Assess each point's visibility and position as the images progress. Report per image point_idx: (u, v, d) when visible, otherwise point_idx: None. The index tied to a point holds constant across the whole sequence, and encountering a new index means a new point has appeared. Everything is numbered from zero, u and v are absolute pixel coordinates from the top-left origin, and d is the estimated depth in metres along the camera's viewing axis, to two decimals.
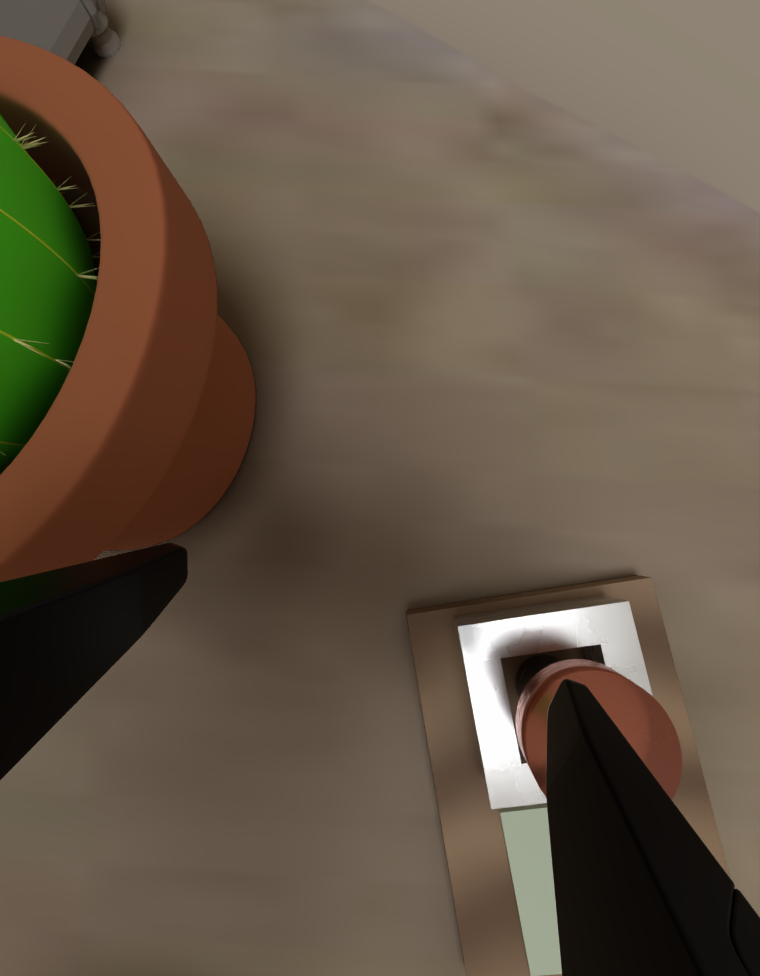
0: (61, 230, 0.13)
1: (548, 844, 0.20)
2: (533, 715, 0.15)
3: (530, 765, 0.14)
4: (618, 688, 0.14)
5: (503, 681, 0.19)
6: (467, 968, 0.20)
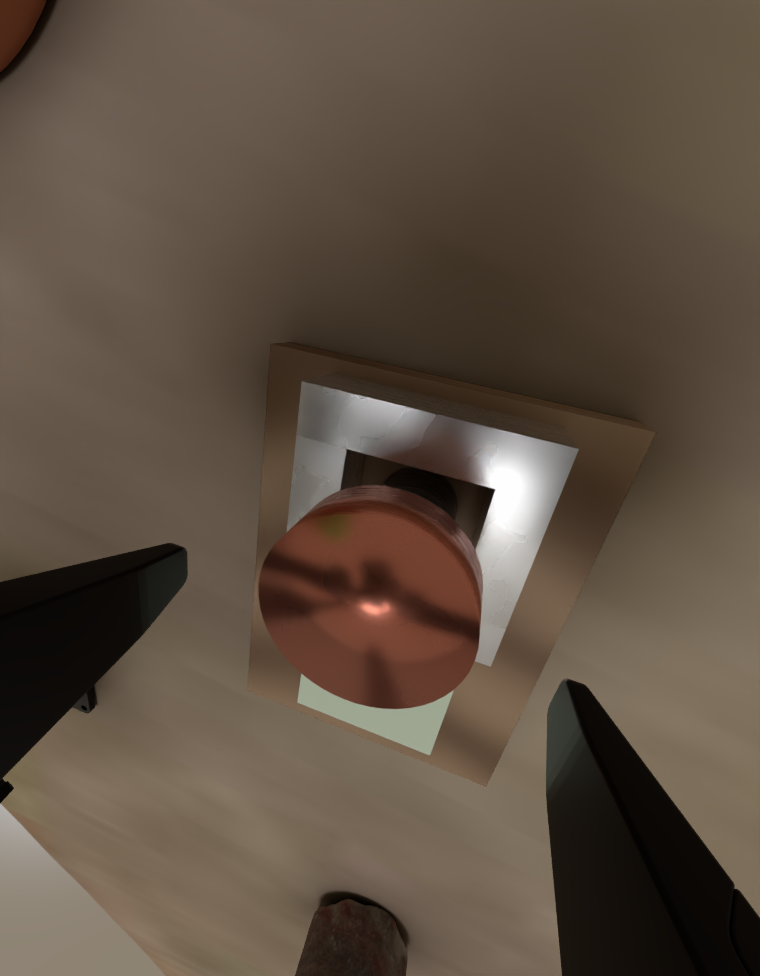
0: None
1: None
2: (281, 540, 0.09)
3: (260, 591, 0.10)
4: (423, 563, 0.08)
5: (340, 478, 0.13)
6: (250, 674, 0.21)
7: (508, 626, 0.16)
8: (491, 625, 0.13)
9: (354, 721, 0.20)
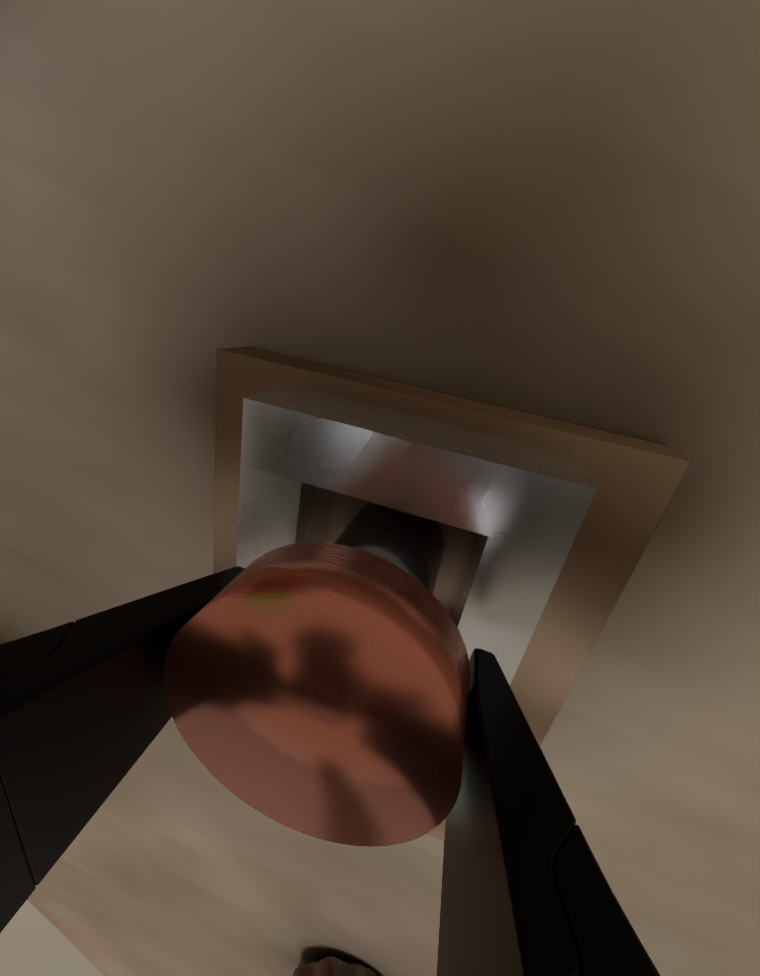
0: None
1: None
2: (185, 626, 0.06)
3: (167, 687, 0.07)
4: (380, 672, 0.06)
5: (295, 517, 0.10)
6: None
7: None
8: None
9: None
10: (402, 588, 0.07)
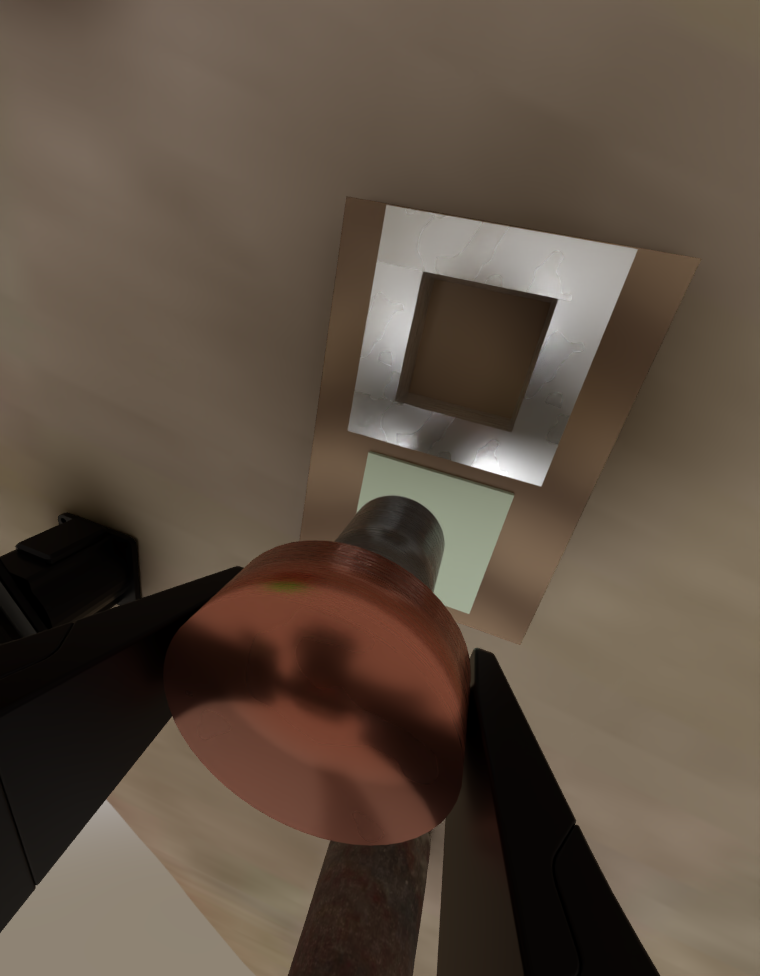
0: None
1: (400, 494, 0.20)
2: (186, 625, 0.06)
3: (167, 686, 0.07)
4: (380, 670, 0.06)
5: (414, 303, 0.14)
6: None
7: (552, 471, 0.18)
8: (545, 443, 0.15)
9: None
10: (402, 586, 0.07)
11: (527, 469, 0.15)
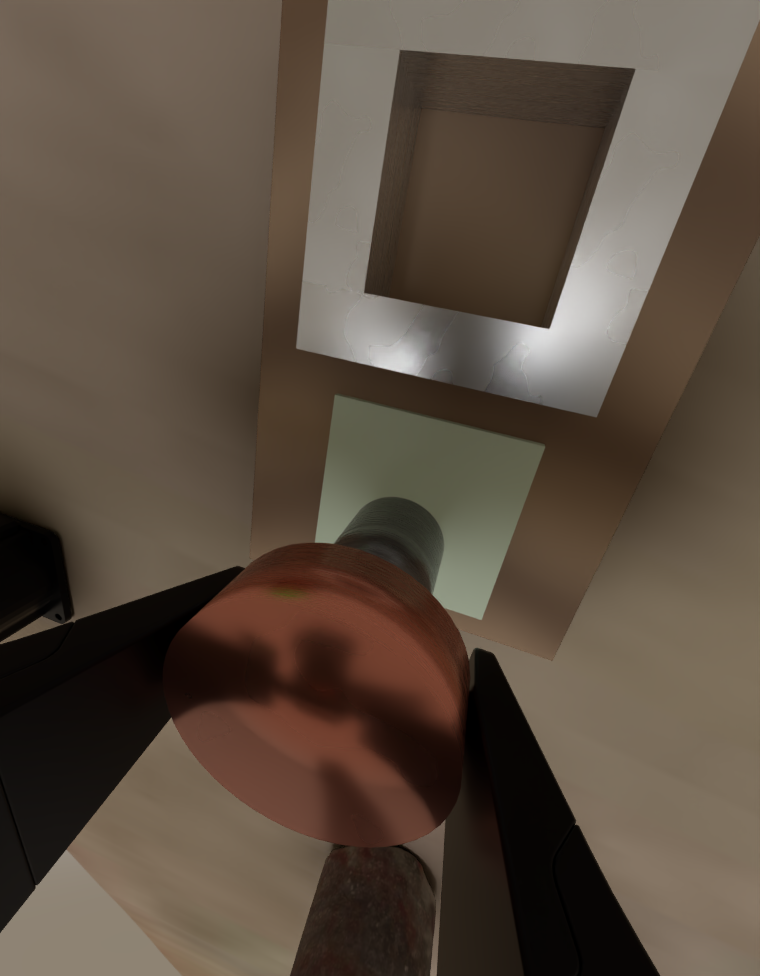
0: None
1: (382, 454, 0.14)
2: (185, 627, 0.06)
3: (166, 688, 0.07)
4: (379, 673, 0.06)
5: (387, 114, 0.09)
6: (253, 534, 0.17)
7: (601, 407, 0.12)
8: (604, 342, 0.09)
9: None
10: (402, 588, 0.07)
11: (574, 390, 0.10)
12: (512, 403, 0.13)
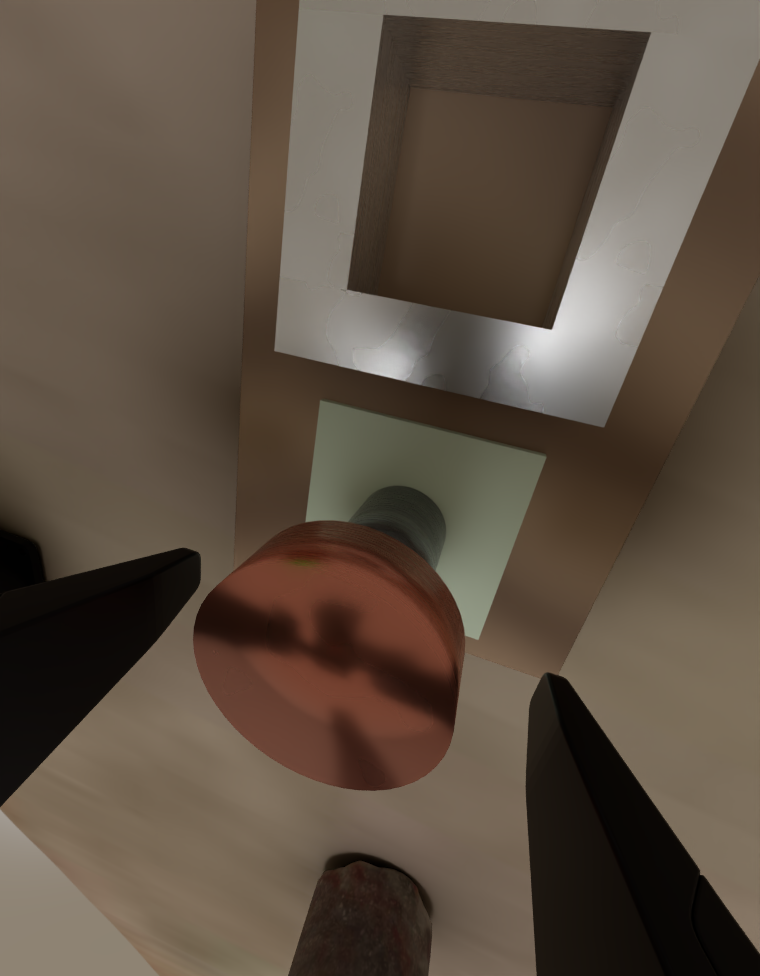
0: None
1: (371, 464, 0.13)
2: (214, 591, 0.07)
3: (196, 647, 0.08)
4: (383, 628, 0.06)
5: (370, 89, 0.08)
6: (237, 547, 0.16)
7: None
8: (613, 344, 0.08)
9: None
10: (404, 560, 0.07)
11: (579, 397, 0.09)
12: (511, 410, 0.12)
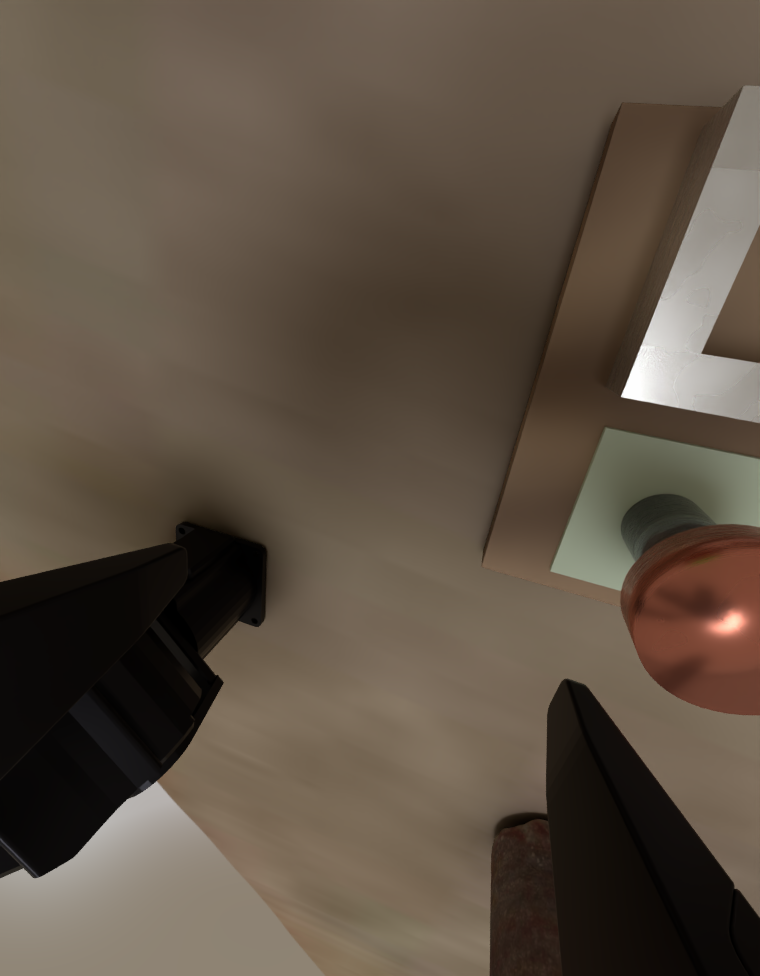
0: None
1: (643, 477, 0.16)
2: (684, 575, 0.11)
3: (639, 617, 0.11)
4: None
5: (758, 219, 0.11)
6: (489, 546, 0.20)
7: None
8: None
9: None
10: None
11: None
12: None
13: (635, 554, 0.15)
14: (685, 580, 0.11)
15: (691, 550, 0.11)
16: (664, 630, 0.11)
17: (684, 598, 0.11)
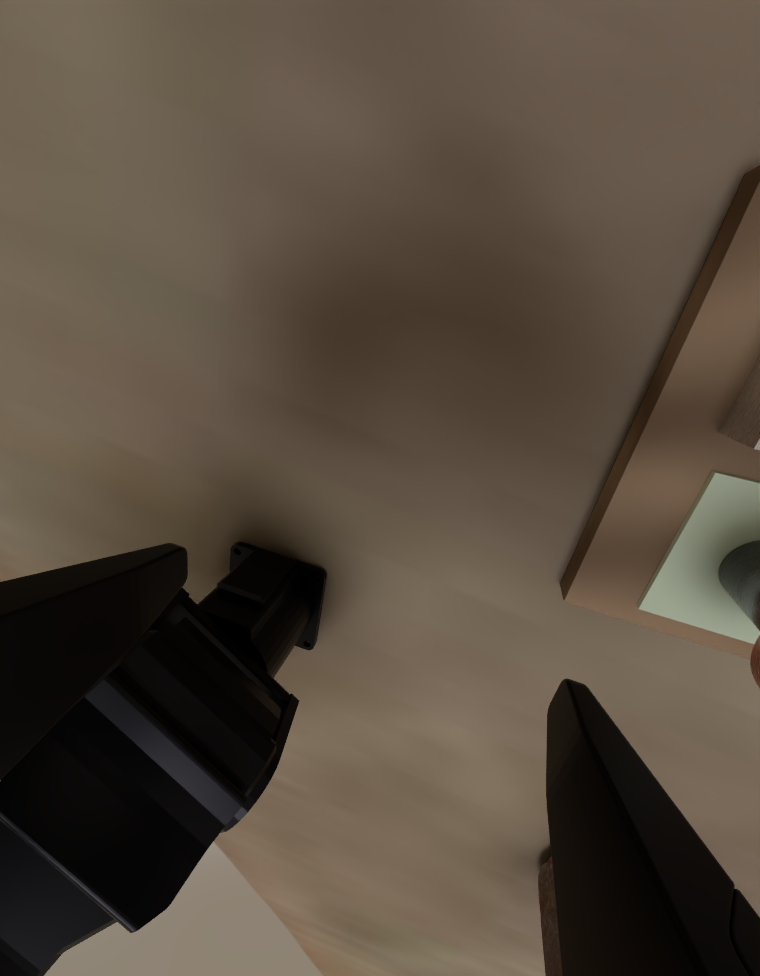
0: None
1: (748, 522, 0.16)
2: None
3: None
4: None
5: None
6: (575, 581, 0.20)
7: None
8: None
9: (713, 626, 0.18)
10: None
11: None
12: None
13: (747, 602, 0.15)
14: None
15: None
16: None
17: None
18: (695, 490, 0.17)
